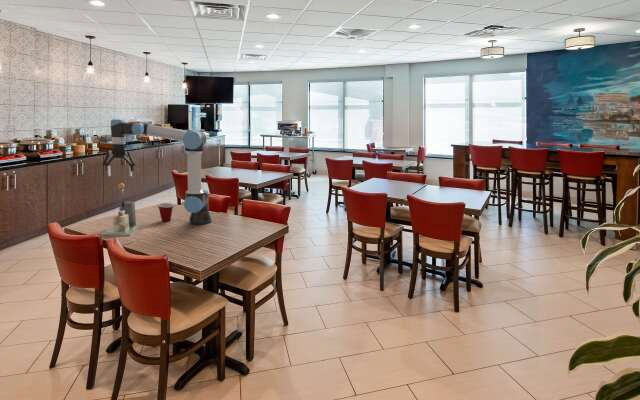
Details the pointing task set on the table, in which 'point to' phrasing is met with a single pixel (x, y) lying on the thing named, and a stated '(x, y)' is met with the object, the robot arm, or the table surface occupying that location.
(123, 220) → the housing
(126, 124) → the robot arm
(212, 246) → the table surface
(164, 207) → the plastic cup
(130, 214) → the press
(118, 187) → the press lever
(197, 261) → the table surface
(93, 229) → the table surface
